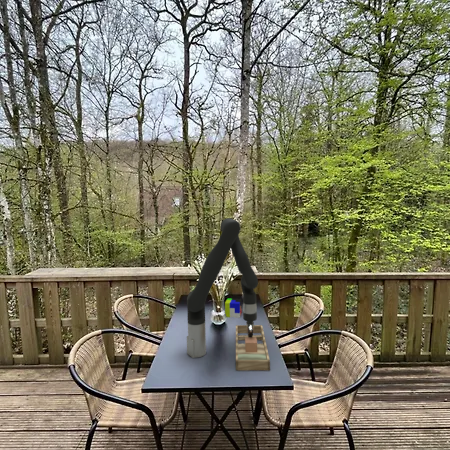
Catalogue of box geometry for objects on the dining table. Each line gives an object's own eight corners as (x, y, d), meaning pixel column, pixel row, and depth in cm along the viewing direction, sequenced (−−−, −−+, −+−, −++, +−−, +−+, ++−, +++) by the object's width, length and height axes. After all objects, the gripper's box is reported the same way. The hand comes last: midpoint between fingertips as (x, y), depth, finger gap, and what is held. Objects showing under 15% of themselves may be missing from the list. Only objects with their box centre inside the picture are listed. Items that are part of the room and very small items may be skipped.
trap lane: (269, 370, 139) (269, 361, 139) (236, 370, 140) (235, 361, 139) (262, 332, 179) (262, 325, 178) (235, 332, 179) (235, 325, 179)
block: (257, 352, 152) (257, 342, 151) (245, 352, 152) (245, 342, 152) (256, 346, 158) (256, 337, 157) (245, 346, 158) (245, 337, 158)
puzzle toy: (239, 318, 202) (239, 303, 201) (225, 317, 204) (224, 303, 203) (241, 312, 211) (241, 298, 210) (227, 311, 213) (227, 298, 212)
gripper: (257, 315, 153) (258, 347, 155) (255, 306, 167) (256, 335, 168) (243, 315, 154) (243, 347, 155) (242, 306, 167) (243, 335, 168)
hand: (250, 341), depth 162 cm, fingers closed
